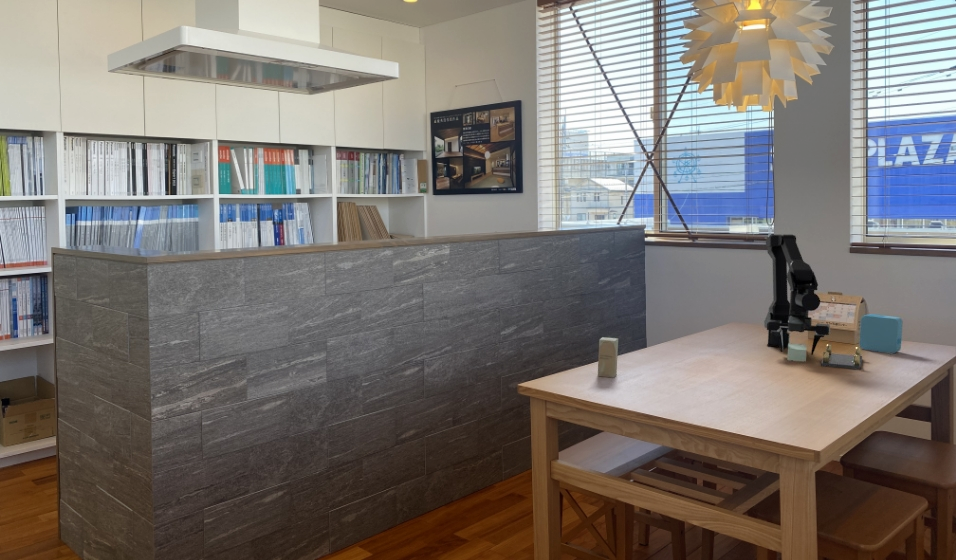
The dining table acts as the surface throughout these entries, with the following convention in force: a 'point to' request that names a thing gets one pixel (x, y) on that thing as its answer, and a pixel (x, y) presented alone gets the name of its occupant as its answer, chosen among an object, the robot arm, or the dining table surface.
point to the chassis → (842, 359)
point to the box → (608, 357)
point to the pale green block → (796, 352)
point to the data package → (881, 333)
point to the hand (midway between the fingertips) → (796, 353)
